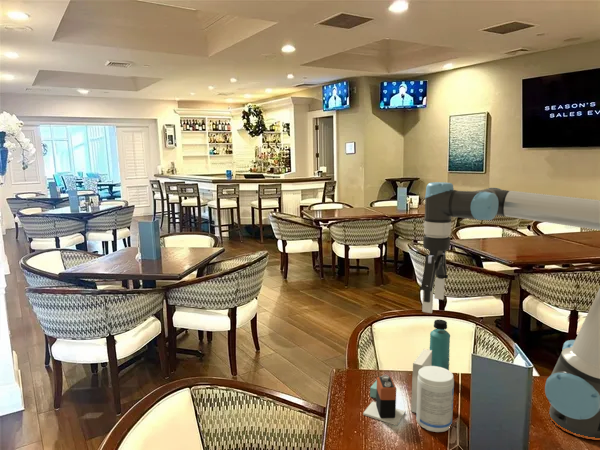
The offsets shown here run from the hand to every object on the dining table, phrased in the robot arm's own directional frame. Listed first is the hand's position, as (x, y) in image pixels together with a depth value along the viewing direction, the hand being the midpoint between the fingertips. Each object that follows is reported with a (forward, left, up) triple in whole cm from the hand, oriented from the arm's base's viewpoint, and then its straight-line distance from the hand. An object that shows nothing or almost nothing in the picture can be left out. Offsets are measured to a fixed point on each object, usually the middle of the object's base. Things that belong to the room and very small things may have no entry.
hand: (433, 305), depth 134 cm
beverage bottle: (0, -11, -29) cm, 31 cm away
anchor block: (+14, +7, -29) cm, 33 cm away
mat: (+8, +17, -29) cm, 35 cm away
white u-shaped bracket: (+1, +7, -29) cm, 30 cm away
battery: (+8, +17, -28) cm, 34 cm away
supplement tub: (-5, +14, -29) cm, 33 cm away
